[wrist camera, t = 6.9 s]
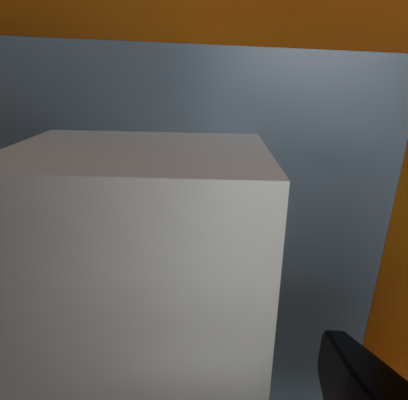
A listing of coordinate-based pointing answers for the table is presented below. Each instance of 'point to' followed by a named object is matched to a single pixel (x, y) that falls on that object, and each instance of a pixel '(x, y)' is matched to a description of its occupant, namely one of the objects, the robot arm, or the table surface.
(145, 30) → the table surface
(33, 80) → the baseplate
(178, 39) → the table surface
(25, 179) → the cream brick
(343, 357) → the robot arm
